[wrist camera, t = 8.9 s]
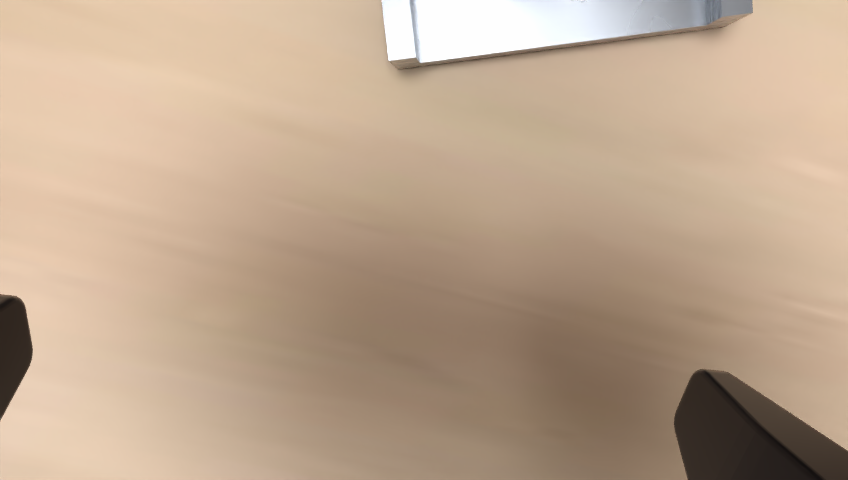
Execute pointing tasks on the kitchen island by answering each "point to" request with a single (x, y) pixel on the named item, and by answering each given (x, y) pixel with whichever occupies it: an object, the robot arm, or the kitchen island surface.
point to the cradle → (536, 25)
